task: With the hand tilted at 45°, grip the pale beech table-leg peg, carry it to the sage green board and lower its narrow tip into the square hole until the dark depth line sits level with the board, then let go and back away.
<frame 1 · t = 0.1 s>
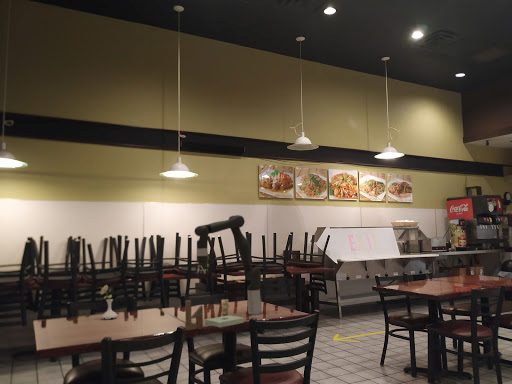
hand: (202, 279, 288), 29 cm above the table, tool pointing down, fingers open, 8 cm apart
beech peg: (225, 318, 298), on the table
brown wooden bracket: (194, 329, 266), on the table
flower in vase: (108, 319, 312), on the table
sage board: (224, 323, 281), on the table
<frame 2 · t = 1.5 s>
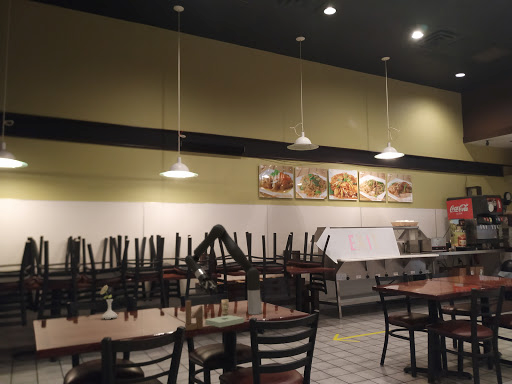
hand: (213, 292, 307), 17 cm above the table, tool tilted 45°, fingers open, 8 cm apart
nothing on the table moved.
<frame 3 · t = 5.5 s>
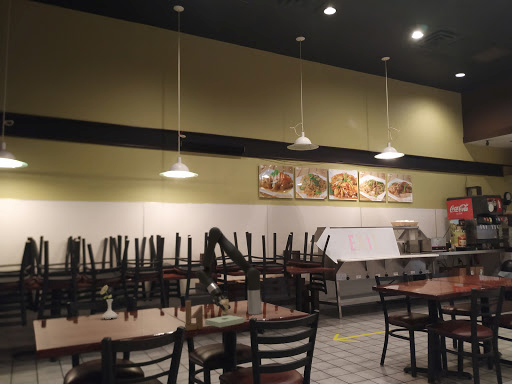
hand: (227, 309, 297), 7 cm above the table, tool tilted 45°, fingers closed on beech peg, 5 cm apart
beech peg: (225, 318, 298), on the table, touching gripper
everything else where it was.
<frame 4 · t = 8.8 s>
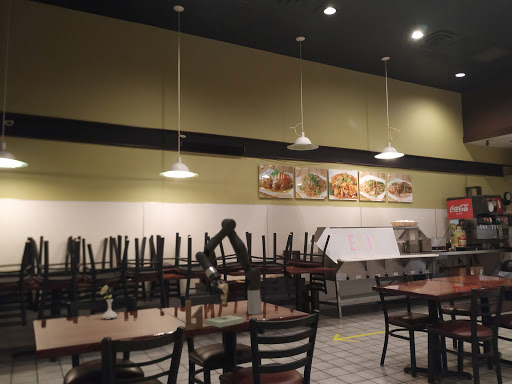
hand: (226, 293, 282), 19 cm above the table, tool tilted 45°, fingers closed on beech peg, 5 cm apart
beech peg: (224, 303, 283), point 13 cm above the table, touching gripper
everything else where it was.
when the fingers open (7 cm above the table, at t = 11.9 s): beech peg stays where it is, resting in sage board.
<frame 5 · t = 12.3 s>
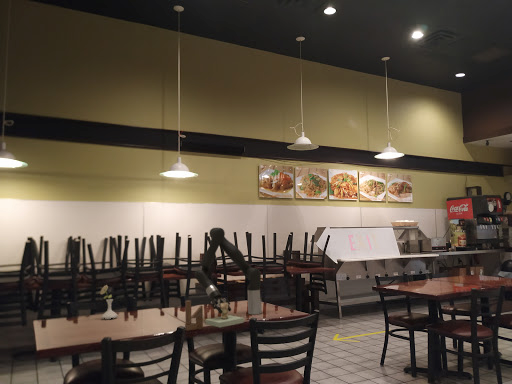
hand: (226, 311, 281), 8 cm above the table, tool tilted 45°, fingers open, 8 cm apart
beech peg: (224, 323, 281), resting in sage board
everything else where it was.
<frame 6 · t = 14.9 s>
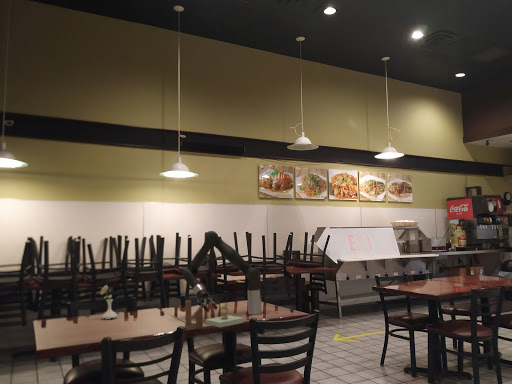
hand: (212, 310, 289), 8 cm above the table, tool tilted 45°, fingers open, 8 cm apart
nothing on the table moved.
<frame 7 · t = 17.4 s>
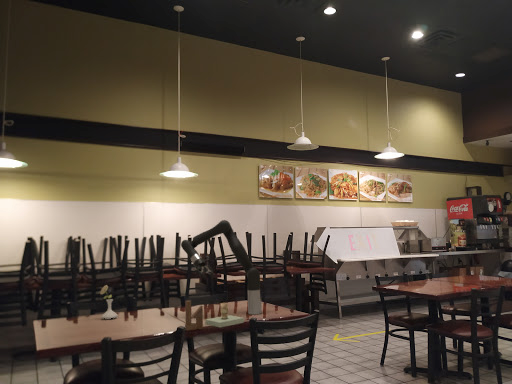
hand: (209, 277, 301), 29 cm above the table, tool tilted 45°, fingers open, 8 cm apart
nothing on the table moved.
at the end: beech peg 0.1 cm off-centre on the sage board, point 0.0 cm above the sage board's base; beech peg tilted 0°; the gripper is holding nothing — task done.
